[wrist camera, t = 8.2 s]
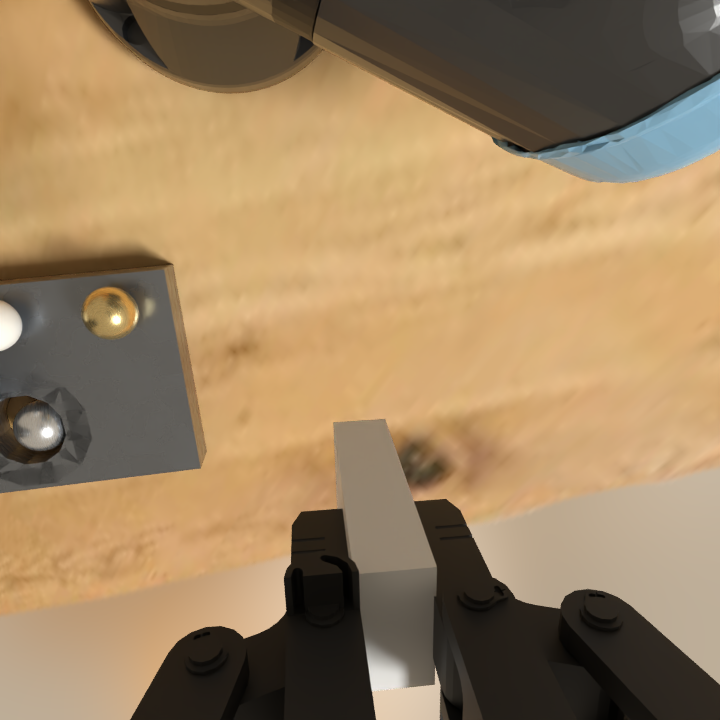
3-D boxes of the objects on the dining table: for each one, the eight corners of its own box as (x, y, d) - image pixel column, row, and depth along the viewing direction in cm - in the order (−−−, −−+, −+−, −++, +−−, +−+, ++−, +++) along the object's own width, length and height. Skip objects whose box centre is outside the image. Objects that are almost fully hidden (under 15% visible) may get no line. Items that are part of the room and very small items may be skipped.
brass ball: (86, 285, 33) (66, 294, 30) (139, 280, 33) (124, 288, 30) (98, 335, 34) (79, 348, 31) (149, 330, 34) (135, 342, 31)
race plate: (-62, 286, 34) (-89, 293, 32) (173, 264, 35) (164, 269, 33) (-4, 477, 38) (-24, 496, 36) (206, 451, 39) (200, 468, 37)
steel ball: (1, 413, 33) (60, 404, 34) (14, 398, 36) (69, 390, 37) (13, 463, 34) (71, 453, 35) (25, 444, 37) (78, 435, 38)
